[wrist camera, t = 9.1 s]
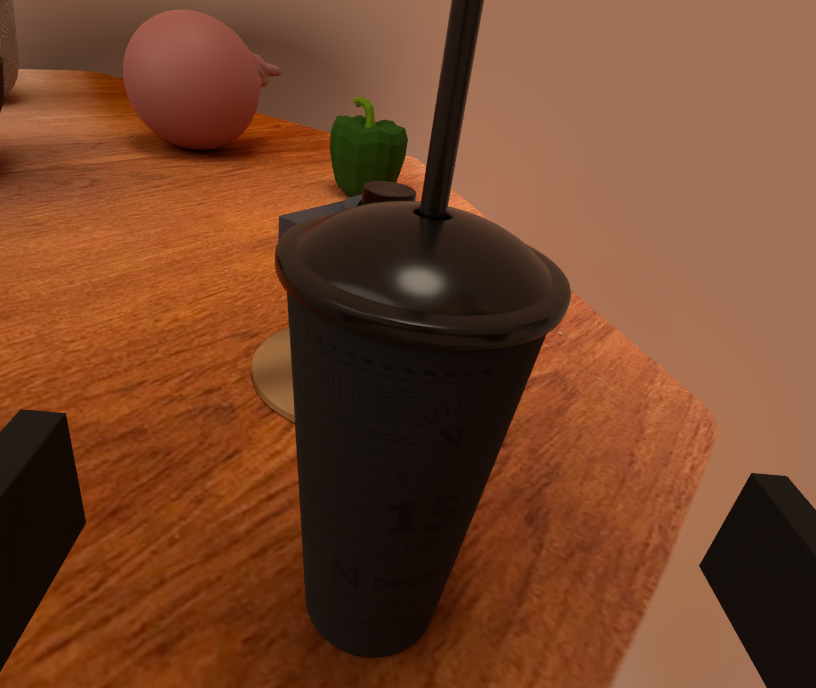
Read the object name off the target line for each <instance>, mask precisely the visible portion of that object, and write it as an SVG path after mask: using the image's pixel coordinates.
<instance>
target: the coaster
mask: <svg viewBox="0 0 816 688" xmlns="http://www.w3.org/2000/svg"><path fill="white" fill-rule="evenodd" d="M252 381H253V384H254V387H255V389H256V391H257V393H258V394H259V396H260V397H261V399H262V400H263V401H264V402H265V403H266V404H267V405H268V406H269V407H270V408H272V409H273V410H274V411H275V412H277V413H278V414H280V415H281V416H283V417H285V418H286V419H288V420H290V421H292V422H294V423H295V414H294V397H293V381H292V365H291V348H290V332H289V327H287V328H285V329H283V330H281V331H279V332H277V333H275V334H274V335H272V336H270V337H269V338H268V339H267V340H265V341H264V342H263V343H262V344H261V345H260V347H259V348H258V349H257V351H256V353H255V355H254V357H253V361H252Z"/></svg>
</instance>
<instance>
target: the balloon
mask: <svg viewBox="0 0 816 688" xmlns="http://www.w3.org/2000/svg"><path fill="white" fill-rule="evenodd" d="M280 74H281V69H280V68H279V67H277V66H274V65H273V64H267V63H264V61H263V59H262V58H261V57H260V56H258V55H256V54H253V53H252V52H251V51H250V50H249V49H248V48H247V47H246V46H245V44H244V43H243V41H242V40H241V39H240V38H239V37H238V36H237V34H236V33H235V32H233V30H231V29H230V28H229V27H228V26H227V25H225V24H224V23H222V22H221V21H219V20H217V19H216V18H214V17H212V16H209V15H207V14H204V13H201V12H197V11H192V10H172V11H167V12H163V13H160V14H158V15H156V16H154V17H152V18H150V19H149V20H147V21H146V22H145V23H143V24H142V25H141V26H140V27H139V28H138V30H137V31H136V32H135V33H134V35H133V36H132V38H131V40H130V42H129V44H128V46H127V49H126V52H125V56H124V63H123V78H124V84H125V89H126V92H127V95H128V98H129V100H130V103H131V105H132V107H133V108H134V110H135V112H136V113H137V115H138V116H139V118H140V119H141V120H142V121H143V122H144V124H145V125H146V126H147V127H148V128H149V129H150V130H152V131H153V132H154V133H155V134H157V135H158V136H159V137H161V138H162V139H164V140H166V141H168V142H170V143H172V144H174V145H177V146H180V147H183V148H187V149H194V150H208V149H214V148H218V147H221V146H224V145H226V144H228V143H230V142H232V141H233V140H235V139H236V138H237V137H239V136H240V135H241V134H242V133H243V132H244V131H245V130H246V128H247V127H248V126H249V124H250V123H251V121H252V119H253V117H254V115H255V112H256V109H257V106H258V101H259V90H260V88H261V87H263V86H267V85H268V83H269V76H279V75H280Z"/></svg>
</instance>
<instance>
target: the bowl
mask: <svg viewBox="0 0 816 688" xmlns="http://www.w3.org/2000/svg"><path fill="white" fill-rule="evenodd" d="M3 101H4V74H3V59H2V58H1V57H0V111H1V108H2V105H3Z"/></svg>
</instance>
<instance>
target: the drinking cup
mask: <svg viewBox="0 0 816 688" xmlns="http://www.w3.org/2000/svg"><path fill="white" fill-rule="evenodd" d="M483 3H484V0H452V2H451V9H450V15H449V22H448V28H447V35H446V41H445V48H444V55H443V61H442V68H441V74H440V80H439V87H438V93H437V100H436V107H435V113H434V120H433V127H432V133H431V140H430V146H429V152H428V159H427V166H426V172H425V179H424V185H423V192H422V198H421V202H413V201H387V202H378V203H370V204H364V205H360V206H356V207H352V208H348V209H345V210H342V211H340V212H337V213H332V214H327V215H322V216H318V217H315V218H311V219H308V220H306V221H303V222H301V223H299V224H296V225H295V226H293V227H291V228H290V229H288V230H287V231H286V232H285V233H284V234H283V235H282V237H281V238H280V240H279V242H278V244H277V246H276V251H275V269H276V273H277V276H278V278H279V281H280V282H281V284H282V286H283V287H284V288H285V290H286V291H287V299H288V315H289V332H290V348H291V365H292V381H293V397H294V414H295V430H296V446H297V463H298V479H299V496H300V512H301V528H302V545H303V561H304V577H305V594H306V605H307V610H308V613H309V616H310V619H311V621H312V623H313V624H314V626H315V628H316V629H317V630H318V632H319V633H320V634H321V635H322V636H323V637H324V638H325V639H326V640H327V641H328V642H330V643H331V644H332V645H334V646H336V647H337V648H339V649H341V650H343V651H345V652H348V653H351V654H354V655H358V656H364V657H382V656H388V655H392V654H395V653H398V652H400V651H402V650H404V649H406V648H408V647H410V646H411V645H413V644H414V643H415V642H416V641H417V640H418V639H419V638H420V637H421V636H422V635H423V634H424V633H425V631H426V630H427V628H428V626H429V624H430V622H431V620H432V617H433V615H434V613H435V610H436V608H437V605H438V603H439V600H440V598H441V595H442V593H443V590H444V588H445V585H446V583H447V580H448V578H449V575H450V573H451V570H452V568H453V565H454V563H455V560H456V558H457V555H458V553H459V550H460V548H461V545H462V543H463V540H464V538H465V535H466V533H467V530H468V528H469V525H470V523H471V520H472V518H473V516H474V513H475V511H476V508H477V506H478V503H479V501H480V498H481V496H482V493H483V491H484V488H485V486H486V483H487V481H488V478H489V476H490V473H491V471H492V468H493V466H494V463H495V461H496V458H497V456H498V453H499V451H500V448H501V446H502V443H503V441H504V438H505V436H506V433H507V431H508V428H509V426H510V423H511V421H512V419H513V416H514V414H515V411H516V409H517V406H518V404H519V401H520V399H521V396H522V394H523V391H524V389H525V386H526V384H527V381H528V379H529V376H530V374H531V371H532V369H533V366H534V364H535V361H536V359H537V356H538V354H539V351H540V349H541V346H542V344H543V341H544V339H545V336H546V334H547V333H549V332H550V331H552V330H553V329H554V328H555V327H556V326H557V325H558V324H559V323H560V322H561V321H562V319H563V318H564V316H565V314H566V311H567V309H568V306H569V302H570V298H571V291H570V285H569V282H568V280H567V278H566V276H565V275H564V273H563V272H562V271H561V269H560V268H559V267H558V266H557V265H556V264H555V263H554V262H552V261H551V260H550V259H549V258H547V257H546V256H545V255H543V254H541V253H540V252H539V251H537V250H535V249H533V248H532V247H530V246H528V245H527V244H525V243H523V242H522V241H521V240H520V239H518V238H517V237H516V236H514V235H513V234H511V233H510V232H508V231H507V230H505V229H504V228H502V227H500V226H499V225H497V224H495V223H493V222H491V221H488V220H486V219H484V218H482V217H480V216H477V215H475V214H472V213H469V212H466V211H463V210H459V209H456V208H452V207H448V202H449V196H450V190H451V185H452V179H453V173H454V167H455V162H456V156H457V150H458V144H459V139H460V133H461V127H462V122H463V116H464V111H465V105H466V99H467V94H468V88H469V82H470V76H471V71H472V65H473V60H474V54H475V48H476V43H477V36H478V31H479V26H480V19H481V14H482V8H483Z"/></svg>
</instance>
